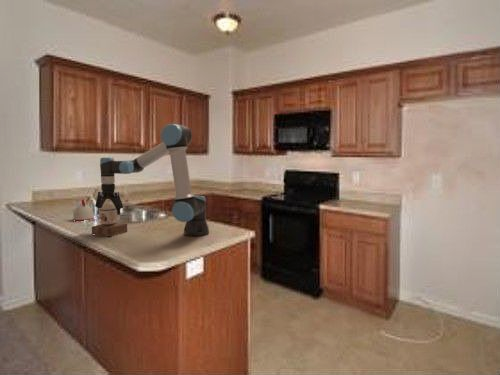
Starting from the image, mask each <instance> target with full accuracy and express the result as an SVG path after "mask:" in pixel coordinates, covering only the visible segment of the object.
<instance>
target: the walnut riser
mask: <svg viewBox="0 0 500 375" xmlns="http://www.w3.org/2000/svg"><path fill="white" fill-rule="evenodd" d="M125 233H128V224H127V223H123V222H122V223H121V222H120V223H119V222H115V223H112V224H101V223H100V224H97V225H94V226H91V235H92V234H95V235H102V236H101V237H104V236H110V237H109V238H113V237H115V235H116V236H119V235H123V234H125ZM118 234H119V235H118ZM95 235H94V236H95ZM112 236H113V237H112Z"/></svg>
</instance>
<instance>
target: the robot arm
mask: <svg viewBox="0 0 500 375" xmlns="http://www.w3.org/2000/svg"><path fill="white" fill-rule="evenodd" d="M160 139H161V142H160V143H159V144H157V145H156V146H154V147H152V148H151V149H149V150H147V151H146V152H143V153H142V154H141V155H140V156H138V157H136V158H134V159H132V160H115V159H114V157H100V159H99V161H100V162H99V167H100V168H99V169H100V182H101V184H100V187H101V188H100V190H101V191H98V192H97V197H96V200H95V201H96V202H95V205H94V207H95V208H97V209H98V211H97V212H98V219H99V220H100V208H102V207H103V206H104V205H105V203H106V201H107V199H108V200H110V201H111V202H112V204H113V205H114V206H113V207H115V208H116V210H115V214H116V222H117V221H120V220H121V209H124V205H123V202H122V200H121V197H120V192H119V191H116V192H115V190H116V184H115V183H116V179H115V174H120V175H122V174H123V175H128V174H129V175H130V174H133V173H134V174H137V173H140V172H143V171H144V169H145V168H146V167H148V166H150V165H151V164H153V163H156V162H157V161H158V160H160V159H161V158H163V157H165V156H167V155H169V157H170V162H171V163H170V164H171V169H172V171H171V172H172V176H173V177H172V178H173V184H174V189H175V191H174V192H175V196H174V197H173V203H174V204H173V205H172V208H171V209H172V210H171V213H172V215H173V217H174V218H175V220H177V221H179V222H181V223H185V226H184V228H183V234H184V236H187V237H188V236H190V237H201V236H207V235H209V233H210V230H209V225H208V223H207V199H206V196H203V195H195V194H193V193H192V188H191V180H190V174H189V167H188V166H189V165H188V160H187V153H186V150H187V149H188V147H189V146H188V145H189V144H190V143H191V141H192V139H193V134H192V130H191V129H190V128H189V127H188V126H186V125H183V124H177V123H169V124H166V125H165V126H163V128H162V129H161V132H160Z"/></svg>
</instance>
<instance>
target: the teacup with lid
mask: <svg viewBox="0 0 500 375" xmlns="http://www.w3.org/2000/svg"><path fill="white" fill-rule="evenodd" d="M115 210H116V207H115V206H112V205H110V203H106V204H104V205H103V206H102V208H100V219H99V220H100V225H101V224H112V223H117V221H116V214H115Z"/></svg>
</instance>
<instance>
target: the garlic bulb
mask: <svg viewBox="0 0 500 375" xmlns="http://www.w3.org/2000/svg"><path fill="white" fill-rule="evenodd" d="M94 216H95V211H94V210H93V209H92V208H91V207H90V206H89V205H88V204H86V203H85V199H81V204H80V205H78V206H77V207H76V209H75V210H74V211H73V217H72V218H73V220H75V221H84V220H90V219H93V218H94Z"/></svg>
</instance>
